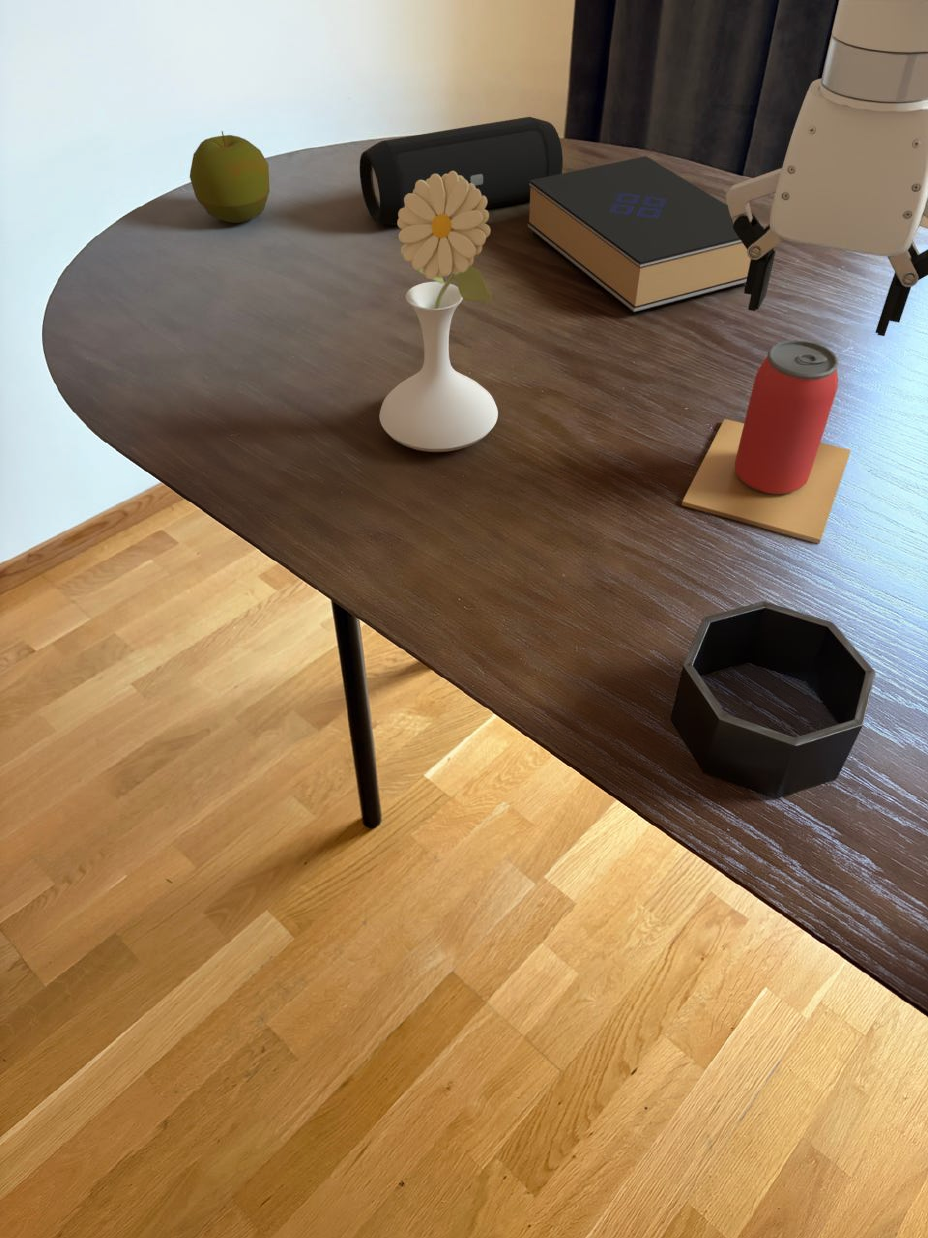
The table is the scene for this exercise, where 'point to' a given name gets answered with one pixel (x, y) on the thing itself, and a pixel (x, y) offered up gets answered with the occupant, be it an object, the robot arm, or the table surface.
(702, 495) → the cork mat
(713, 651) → the black octagonal pot
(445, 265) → the flower in vase
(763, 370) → the beer can
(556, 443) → the table surface
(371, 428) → the table surface
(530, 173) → the portable speaker
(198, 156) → the apple
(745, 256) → the book
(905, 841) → the table surface
